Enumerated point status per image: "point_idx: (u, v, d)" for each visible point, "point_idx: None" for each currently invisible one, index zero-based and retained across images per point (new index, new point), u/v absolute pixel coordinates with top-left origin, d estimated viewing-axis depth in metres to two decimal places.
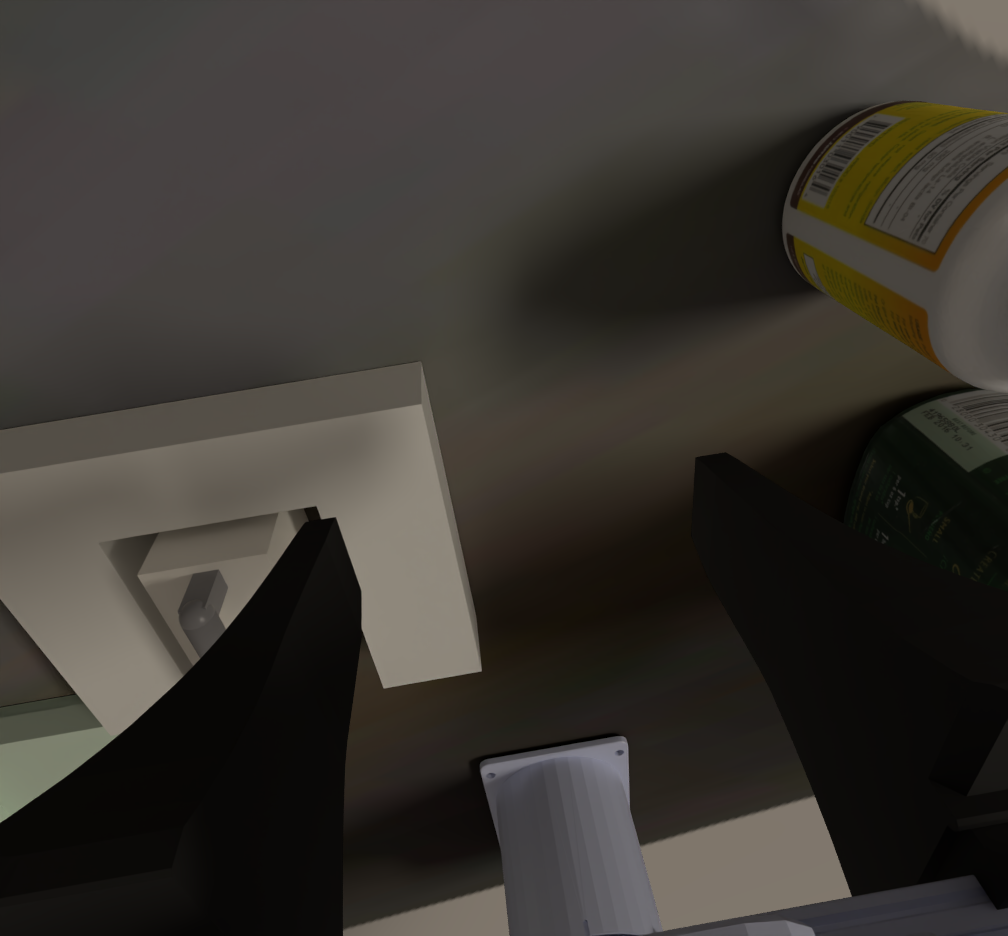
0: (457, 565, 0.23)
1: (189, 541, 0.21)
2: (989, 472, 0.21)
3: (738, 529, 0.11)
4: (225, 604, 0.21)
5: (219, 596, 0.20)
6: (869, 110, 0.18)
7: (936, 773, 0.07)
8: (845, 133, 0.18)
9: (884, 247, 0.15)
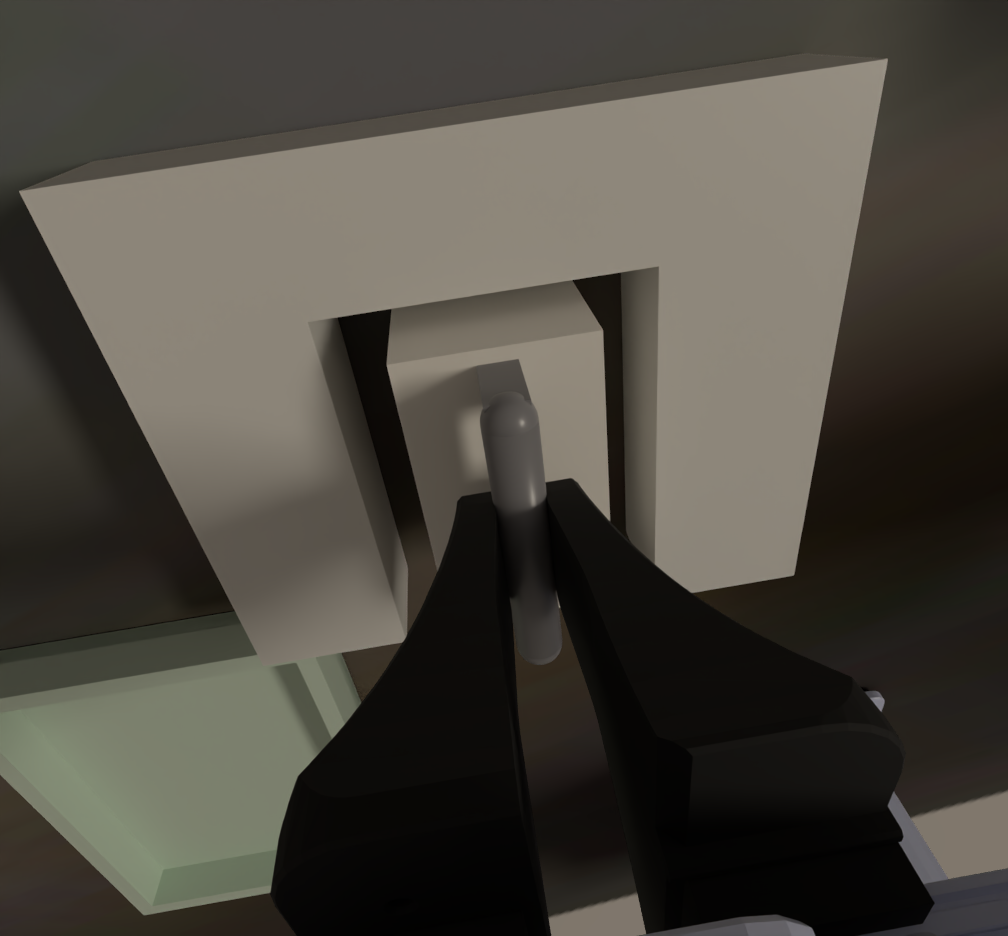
0: (824, 392, 0.15)
1: (450, 327, 0.13)
2: None
3: (564, 559, 0.11)
4: None
5: None
6: None
7: (660, 822, 0.07)
8: None
9: None
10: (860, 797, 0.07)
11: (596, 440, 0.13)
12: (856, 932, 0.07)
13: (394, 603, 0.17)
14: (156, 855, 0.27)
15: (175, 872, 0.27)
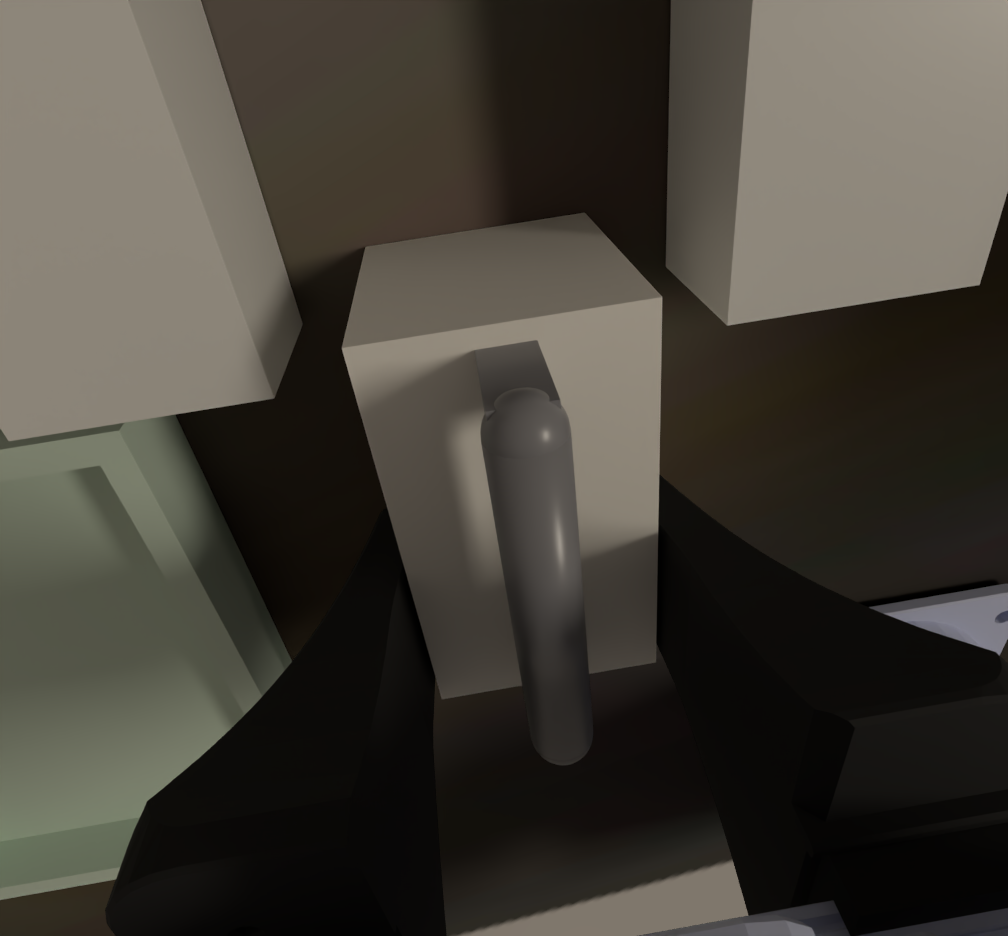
0: None
1: (439, 297, 0.09)
2: None
3: None
4: None
5: None
6: None
7: (797, 797, 0.07)
8: None
9: None
10: (1002, 771, 0.07)
11: (644, 457, 0.09)
12: (1001, 905, 0.07)
13: (238, 303, 0.09)
14: None
15: (9, 846, 0.19)
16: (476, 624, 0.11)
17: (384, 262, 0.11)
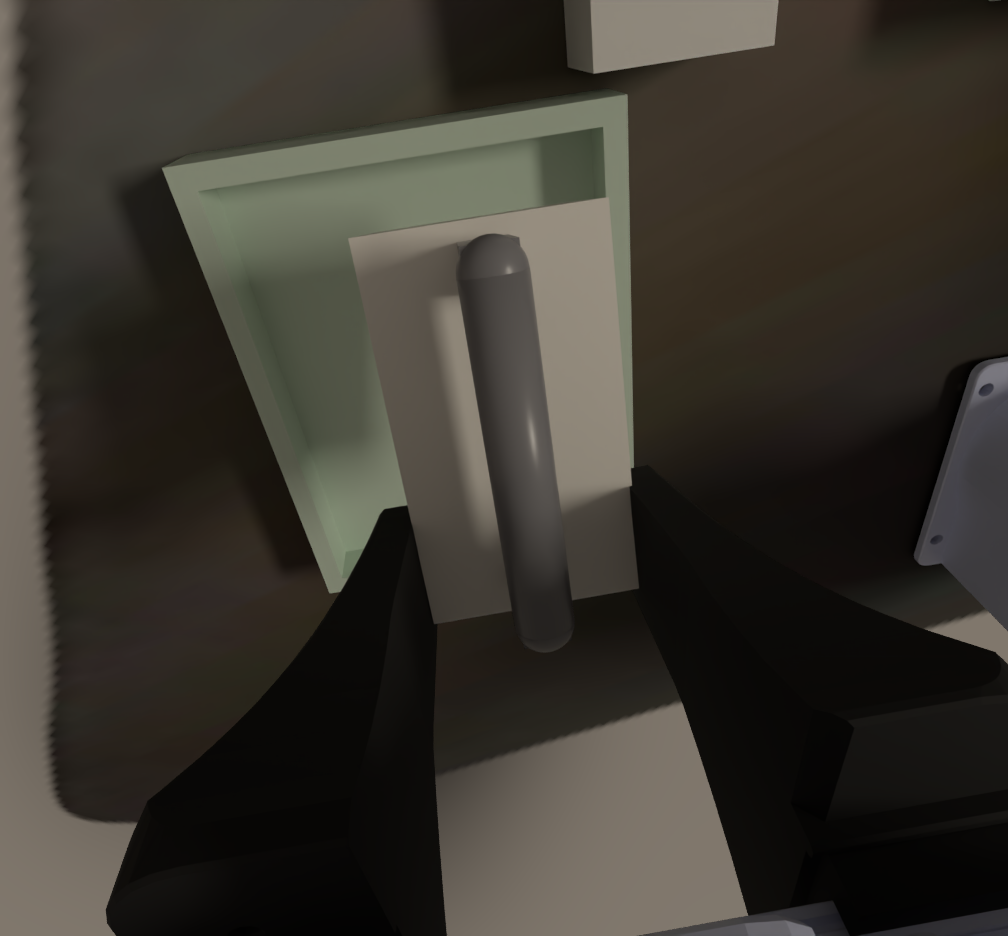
0: None
1: (431, 224, 0.11)
2: None
3: (650, 544, 0.11)
4: None
5: None
6: None
7: (797, 798, 0.07)
8: None
9: None
10: (1002, 772, 0.07)
11: (608, 352, 0.11)
12: (1001, 906, 0.07)
13: None
14: (342, 525, 0.23)
15: (361, 552, 0.24)
16: (465, 532, 0.12)
17: None
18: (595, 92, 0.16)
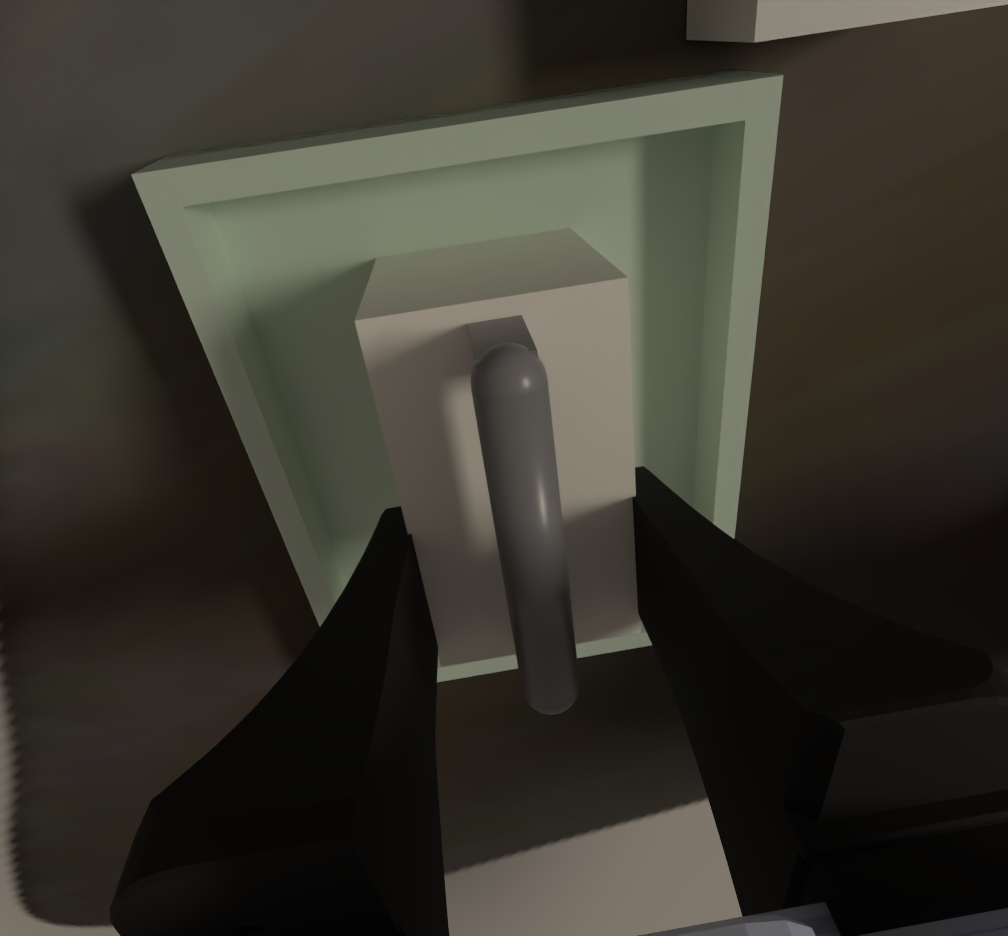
0: None
1: (439, 286, 0.10)
2: None
3: (646, 545, 0.11)
4: None
5: None
6: None
7: (789, 799, 0.07)
8: None
9: None
10: (994, 773, 0.07)
11: (619, 425, 0.11)
12: (993, 907, 0.07)
13: None
14: None
15: None
16: (472, 589, 0.12)
17: (393, 266, 0.12)
18: (725, 74, 0.12)
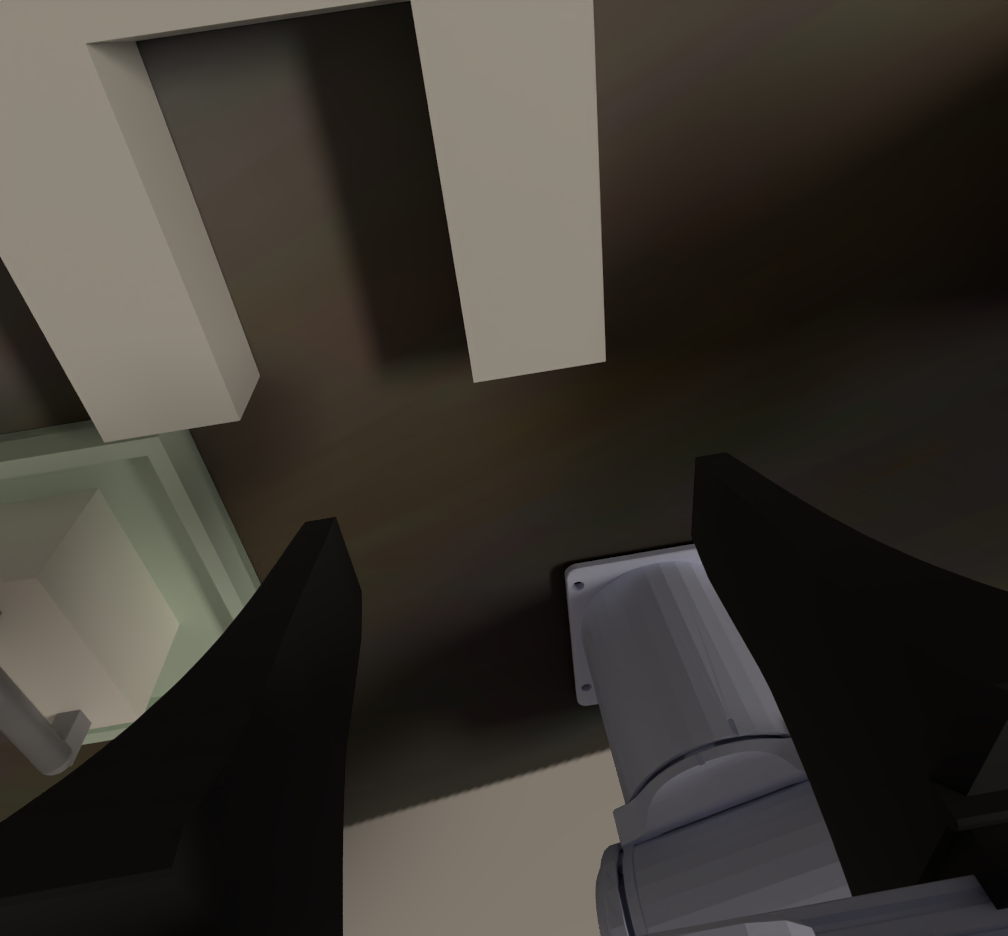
0: (596, 148, 0.16)
1: None
2: None
3: (738, 529, 0.11)
4: (4, 630, 0.20)
5: None
6: None
7: (935, 773, 0.07)
8: None
9: None
10: None
11: (69, 633, 0.20)
12: None
13: (220, 374, 0.18)
14: None
15: None
16: None
17: None
18: None
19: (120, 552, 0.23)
